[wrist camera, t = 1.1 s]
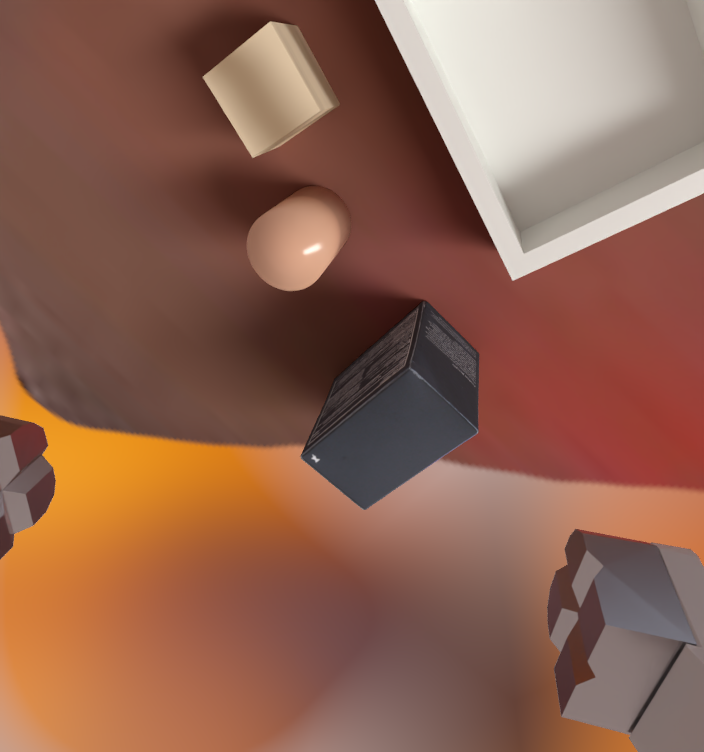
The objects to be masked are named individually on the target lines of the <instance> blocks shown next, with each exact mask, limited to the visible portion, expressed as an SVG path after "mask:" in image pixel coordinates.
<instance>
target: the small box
mask: <svg viewBox="0 0 704 752" xmlns="http://www.w3.org/2000/svg"><path fill="white" fill-rule="evenodd" d="M478 388H479V353H478V352H477V351H476V350H475V349H474V348H473V347H472V346H471V345H470V344H469V343H468V342H467V341H466V340H465V339H464V338H463V337H462V336H461V335H460V334H459V333H458V332H457V331H456V330H455V329H454V328H453V327H452V326H451V325H450V324H449V323H448V322H447V321H446V320H445V319H444V318H443V317H442V316H441V315H440V314H439V313H438V312H437V311H436V310H435V309H434V308H433V307H432V306H431V305H430V304H429V303H428V302H426V301H423V302H421V303H420V304H419V305H418V306H417V307H416V308H415V309H413V310H412V311H411V312H410V313H409V314H408V315H406V316H405V317H404V318H403V319H402V320H401V321H400V322H399V323H397V324H396V325H395V326H394V327H393V328H391V329H390V330H389V331H388V332H387V333H386V334H385V335H384V336H382V337H381V338H380V339H379V340H378V341H377V342H376V343H375V344H373V345H372V346H371V347H370V348H369V349H367V350H366V351H365V352H364V353H363V354H362V355H361V356H360V357H359V358H357V359H356V360H355V361H354V362H353V363H352V364H351V365H350V366H349V367H347V368H346V369H345V370H344V371H343V372H342V373H341V374H340V375H339V376H338V377H336V378H335V379H334V381H333V384H332V386H331V389H330V392H329V394H328V397H327V399H326V401H325V404H324V406H323V408H322V410H321V413H320V415H319V416H318V418H317V421H316V423H315V425H314V427H313V430H312V432H311V434H310V436H309V439H308V441H307V443H306V445H305V447H304V450H303V452H302V454H301V459H302V460H303V461H305V462H306V463H307V464H308V465H310V466H311V467H312V468H313V469H314V470H316V471H317V472H318V473H320V474H321V475H322V476H323V477H324V478H325V479H327V480H328V481H329V482H330V483H331V484H333V485H334V486H335V487H336V488H337V489H339V490H340V491H341V492H342V493H343V494H345V495H346V496H347V497H348V498H350V499H351V500H352V501H353V502H354V503H356V504H357V505H358V506H360V508H362V509H363V510H366V509H367V508H369V507H370V506H372V505H373V504H374V503H376V502H377V501H379V500H380V499H382V498H383V497H385V496H386V495H387V494H389V493H390V492H392V491H393V490H395V489H396V488H398V487H399V486H401V485H402V484H404V483H405V482H406V481H408V480H409V479H411V478H412V477H414V476H415V475H417V474H418V473H420V472H421V471H423V470H424V469H425V468H427V467H428V466H430V465H431V464H433V463H434V462H436V461H437V460H439V459H440V458H442V457H443V456H445V455H446V454H448V453H449V452H451V451H452V450H454V449H455V448H457V447H458V446H460V445H461V444H463V443H464V442H465V441H467V440H468V439H470V438H472V437H473V436H474V435H476V434H477V433H478Z"/></svg>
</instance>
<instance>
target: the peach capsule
mask: <svg viewBox="0 0 704 752" xmlns="http://www.w3.org/2000/svg"><path fill="white" fill-rule="evenodd" d="M350 231H351V217H350V213H349V211H348V208H347V206H346V204H345V203H344V201H343V200H342V199H341V198H340V197H339V196H338V195H337V194H336V193H334V192H333V191H331V190H329V189H327V188H324V187H320V186H308V187H305V188H302V189H300V190H298V191H296V192H295V193H294V194H292V195H291V196H289V197H288V198H286V199H285V200H283V201H282V202H280V203H279V204H278V205H276V206H275V207H273V208H272V209H270V210H269V211H267V212H266V213H265V214H263V215H262V216H260V217H259V218H258V219H257V220H256V221H255V222H254V224H253V225H252V227H251V229H250V231H249V234H248V238H247V252H248V257H249V260H250V262H251V265H252V267H253V268H254V270H255V271H256V273H257V274H258V275H259V276H260V277H261V278H262V279H263V280H264V281H265V282H267V283H268V284H269V285H271V286H273V287H275V288H278V289H281V290H286V291H297V290H302V289H305V288H307V287H309V286H310V285H312V284H313V283H314V282H316V281H317V279H318V278H319V277H320V276H321V274H322V273H323V272H324V271H325V269H326V268H327V267H328V265H329V264H330V263H331V262H332V260H333V259H334V258H335V256H336V255H337V254H338V253H339V251H340V250H341V249H342V247H343V246H344V245H345V243H346V242H347V240H348V238H349V235H350Z"/></svg>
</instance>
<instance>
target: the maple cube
mask: <svg viewBox="0 0 704 752" xmlns="http://www.w3.org/2000/svg"><path fill="white" fill-rule="evenodd" d="M203 78H204V80H205V82H206V83H207V85H208V87H209V88H210V90H211V91H212V93H213V95H214V96H215V98H216V99H217V101H218V103H219V104H220V106H221V108H222V109H223V111H224V112H225V114H226V116H227V117H228V119H229V120H230V122H231V124H232V125H233V127H234V128H235V130H236V132H237V133H238V135H239V137H240V138H241V140H242V141H243V143H244V145H245V146H246V148H247V149H248V151H249V153H250V154H251V156H252V158H254V157H256V156H259V155H261V154H263V153H266V152H268V151H270V150H273V149H275V148H277V147H280V146H281V145H282V144H284V143H285V142H287V141H288V140H290V139H291V138H293V137H294V136H295V135H297V134H298V133H300V132H301V131H303V130H304V129H306V128H307V127H308V126H310V125H311V124H313V123H314V122H316V121H317V120H319V119H320V118H321V117H323V116H324V115H326V114H327V113H329V112H330V111H332V110H333V109H334V108H336V107H337V106H339V105H340V103H339V101H338V99H337V97H336V96H335V94H334V92H333V90H332V88H331V86H330V85H329V83H328V81H327V79H326V77H325V75H324V74H323V72H322V70H321V68H320V66H319V64H318V63H317V61H316V59H315V57H314V55H313V53H312V52H311V50H310V48H309V46H308V44H307V42H306V41H305V39H304V37H303V35H302V33H301V31H300V30H299V28H298V26H296V25H289V24H283V23H277V22H271V21H270V22H269V23H268V24H266V25H265V26H264V27H263V28H262V29H260V30H259V31H258V32H257V33H255V34H254V35H253V36H252V37H251V38H249V39H248V40H247V41H246V42H245V43H243V44H242V45H241V46H240V47H238V48H237V49H236V50H235V51H234V52H232V53H231V54H230V55H229V56H227V57H226V58H225V59H224V60H223V61H221V62H220V63H219V64H218V65H216V66H215V67H214V68H213V69H212V70H210V71H209V72H208V73H207V74H206V75H204V76H203Z"/></svg>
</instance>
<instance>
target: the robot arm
mask: <svg viewBox="0 0 704 752" xmlns="http://www.w3.org/2000/svg"><path fill="white" fill-rule="evenodd" d="M47 446H48V443H47V439H46V436H45V432H44V429H43V428H42V427H40V426H39V425H37V424H35V423H32V422H28V421H23V420H19V419H14V418H9V417H5V416H0V559H1V558H2V557H3V556H4V555H5V554H6V553H7V552H8V551H9V550H10V549H11V548H12V547H13V541H14V534H15V533H17V532H20V531H22V530H24V529H26V528H29V527H31V526H33V525H34V524H35V523H36V522H37V521H38V520H39V519H40V518H41V517H42V516H43V514H44V513H45V512H46V511H47V509H48V507H49V504H50V502H51V500H52V498H53V496H54V490H55V481H56V480H55V475H54V471H53V467H52V466H51V465H50V464H49V463H48V462H47V460H46V459H45V458H44V457H43V456H42V454H43V452H44V451H45V449H46V448H47ZM565 553H566V558H567V564H568V565H566V566H564V567H563V568H561V569H559V570H557V571H556V573H555V576H554V579H553V581H552V584H551V587H550V593H549V600H548V607H547V608H548V629H549V635H550V640H551V641H552V642H553V643H554V645H555V646H556V647H557V648H558V650H559V651H560V652H561V653H560V655H559V658H558V660H557V663H556V665H555V667H554V672H555V678H556V684H557V691H558V698H559V705H560V711H561V716H562V717H565V718H568V719H572V720H576V721H580V722H584V723H588V724H591V725H595V726H599V727H603V728H607V729H610V730H614V731H618V732H622V733H625V734H629V735H630V737H629V739H630V740H631V742H632V743H633V745H634V746H635V748H636V749H637V751H638V752H704V567H703V565H702V563H701V561H700V559H699V557H698V556H697V555H696V554H695V553H694V552H693V551H692V550H690V549H685V548H680V547H674V546H668V545H662V544H657V543H647V542H641V541H636V540H631V539H626V538H620V537H616V536H610V535H605V534H600V533H594V532H589V531H584V530H579V529H575V530H574V532H573V533H572V534H571V535H570V537H569V540H568V542H567V545H566V547H565Z"/></svg>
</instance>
